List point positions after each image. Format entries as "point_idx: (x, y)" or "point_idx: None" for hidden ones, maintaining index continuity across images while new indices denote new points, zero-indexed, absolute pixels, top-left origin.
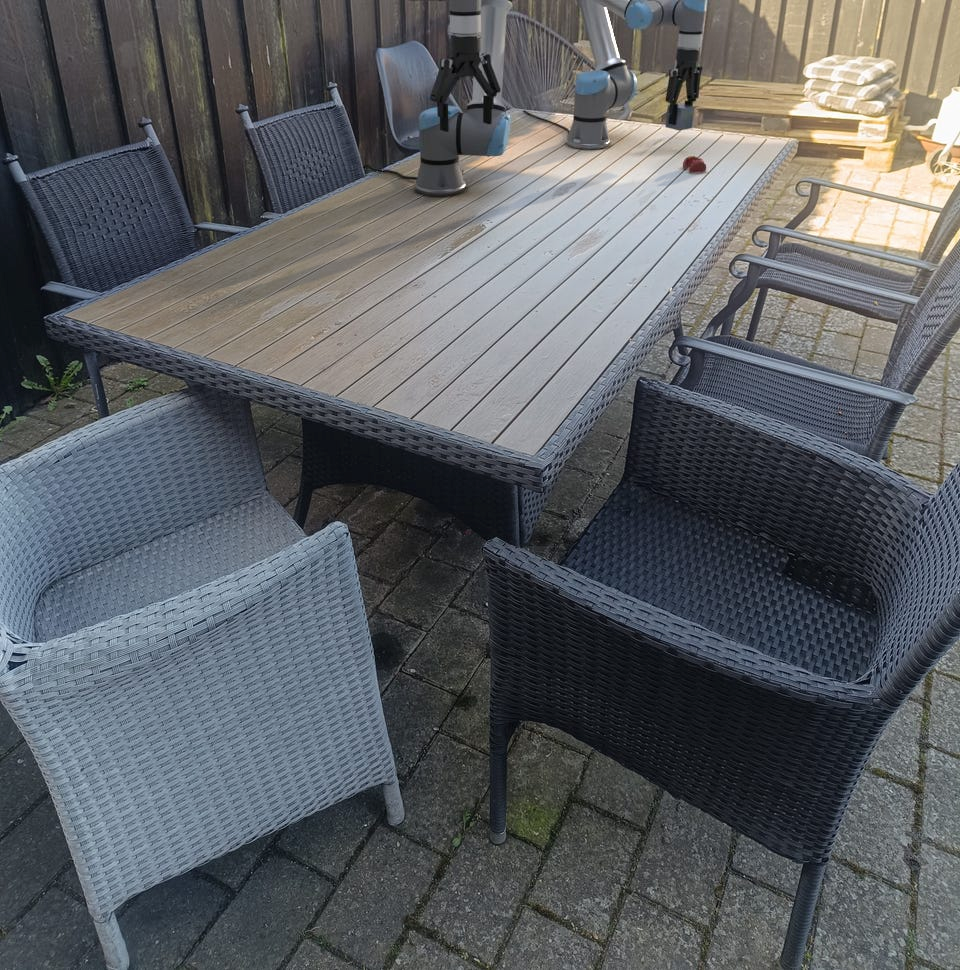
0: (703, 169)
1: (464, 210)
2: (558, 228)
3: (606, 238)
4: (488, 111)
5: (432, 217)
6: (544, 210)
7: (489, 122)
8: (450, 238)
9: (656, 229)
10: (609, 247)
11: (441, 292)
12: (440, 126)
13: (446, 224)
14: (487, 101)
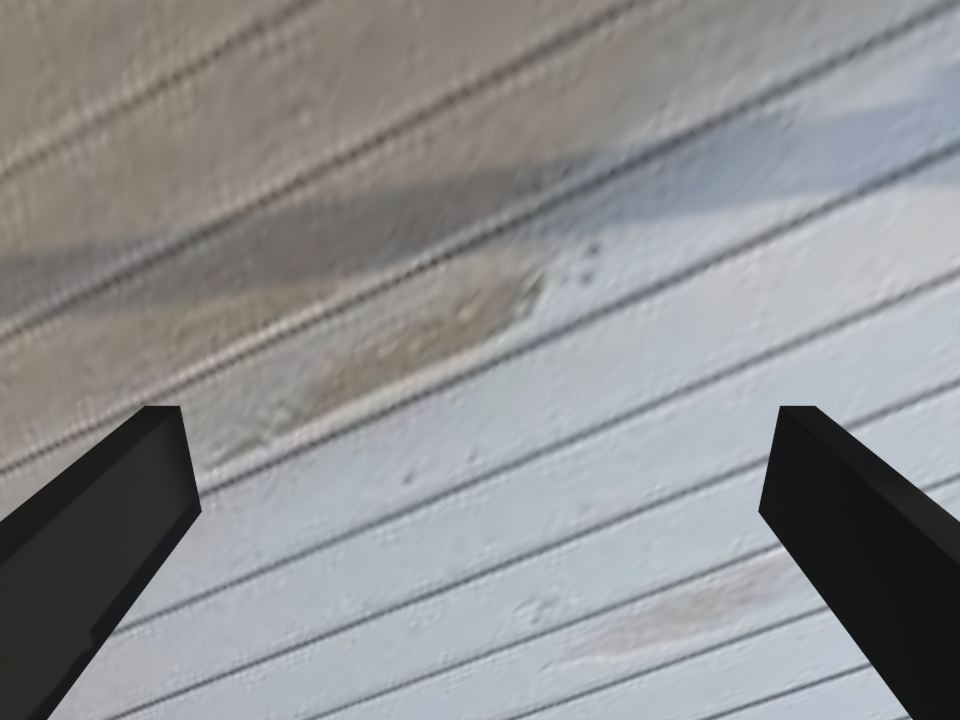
0: None
1: (605, 50)
2: (734, 473)
3: (769, 615)
4: (839, 597)
5: (413, 44)
6: (874, 286)
7: (770, 524)
8: (339, 332)
9: None
10: (711, 664)
11: (107, 651)
12: (124, 430)
13: (415, 179)
14: (942, 699)
